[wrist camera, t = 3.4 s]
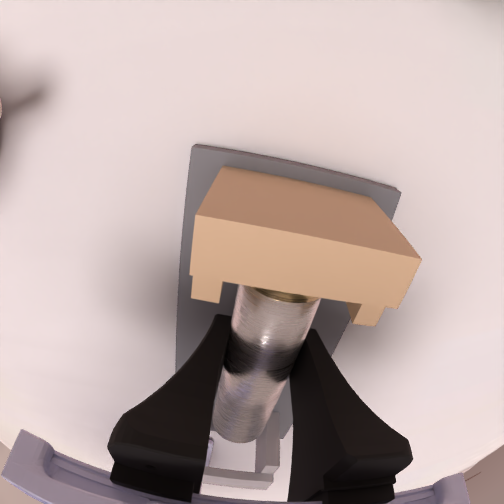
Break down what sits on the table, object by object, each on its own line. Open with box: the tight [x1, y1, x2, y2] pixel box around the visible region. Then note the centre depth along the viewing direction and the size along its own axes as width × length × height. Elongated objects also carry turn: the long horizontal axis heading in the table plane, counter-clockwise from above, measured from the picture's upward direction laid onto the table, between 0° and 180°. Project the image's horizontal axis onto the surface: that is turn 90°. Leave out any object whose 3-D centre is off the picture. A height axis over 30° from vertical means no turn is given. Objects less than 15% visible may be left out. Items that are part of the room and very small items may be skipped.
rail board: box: [176, 144, 422, 490], centre depth 13 cm, size 19×8×5 cm, turn 170°
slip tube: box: [213, 284, 321, 443], centre depth 13 cm, size 11×3×3 cm, turn 170°
